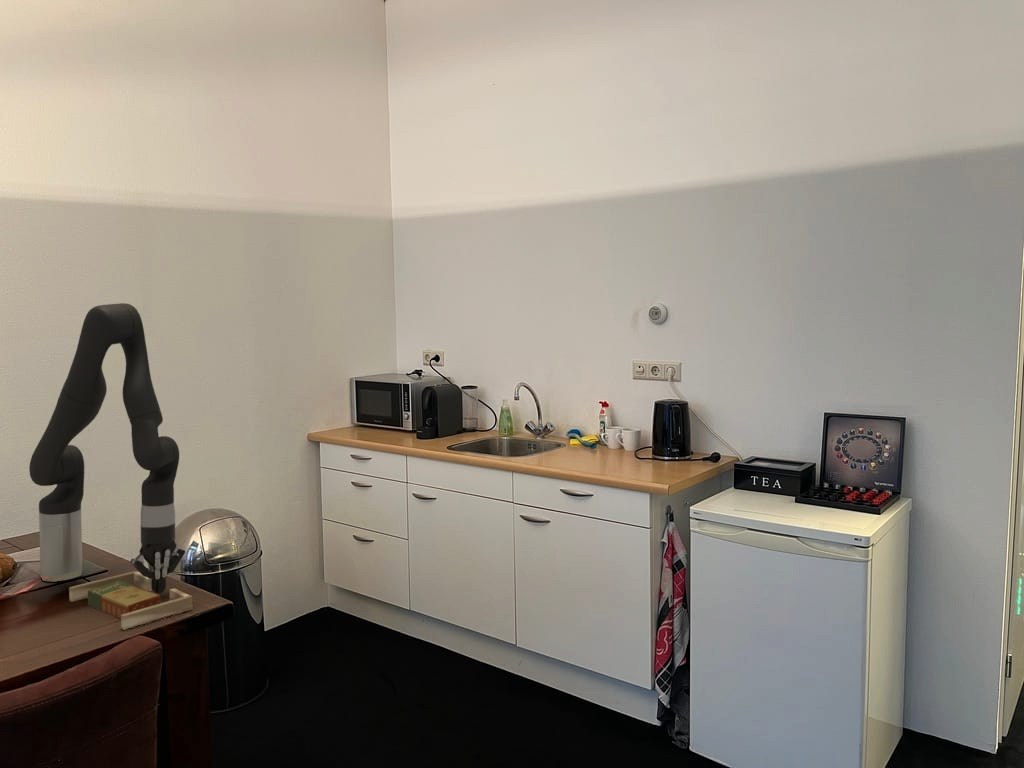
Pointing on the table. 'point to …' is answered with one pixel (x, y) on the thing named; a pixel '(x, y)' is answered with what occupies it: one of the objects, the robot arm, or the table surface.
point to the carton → (121, 598)
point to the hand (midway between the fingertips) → (158, 592)
